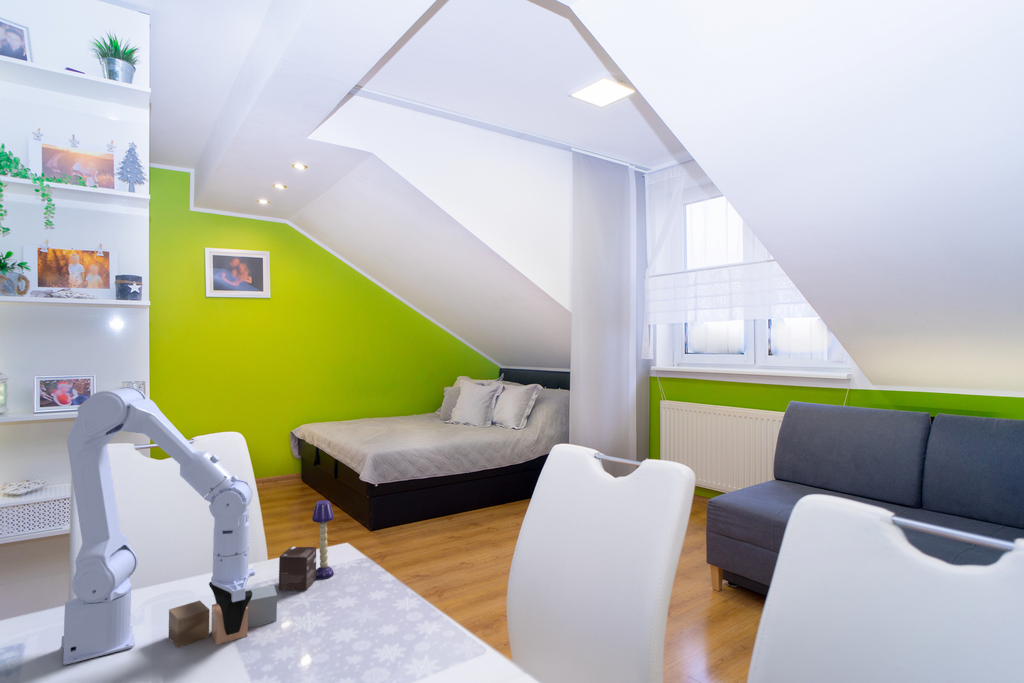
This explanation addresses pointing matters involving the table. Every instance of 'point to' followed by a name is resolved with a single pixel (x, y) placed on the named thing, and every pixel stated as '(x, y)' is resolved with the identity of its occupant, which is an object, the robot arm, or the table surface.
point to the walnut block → (188, 623)
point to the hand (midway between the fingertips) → (229, 626)
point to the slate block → (262, 606)
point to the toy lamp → (323, 536)
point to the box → (297, 568)
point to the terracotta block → (218, 626)
